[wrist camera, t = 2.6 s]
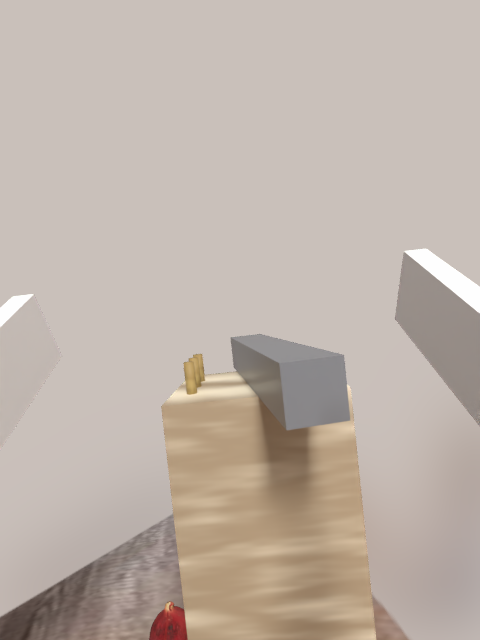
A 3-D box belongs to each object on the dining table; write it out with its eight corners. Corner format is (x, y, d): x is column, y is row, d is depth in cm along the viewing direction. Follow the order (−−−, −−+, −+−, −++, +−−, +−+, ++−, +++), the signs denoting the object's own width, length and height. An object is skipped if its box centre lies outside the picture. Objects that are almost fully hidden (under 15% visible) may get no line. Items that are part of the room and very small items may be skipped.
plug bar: (233, 367, 48) (230, 337, 48) (263, 363, 48) (260, 334, 48) (286, 430, 21) (279, 363, 21) (350, 420, 22) (343, 354, 22)
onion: (196, 680, 45) (189, 618, 45) (150, 691, 44) (142, 628, 44) (196, 639, 51) (190, 583, 50) (155, 648, 50) (148, 592, 50)
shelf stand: (222, 674, 45) (186, 352, 44) (349, 664, 45) (315, 338, 44) (210, 838, 31) (157, 371, 30) (395, 825, 31) (346, 351, 30)
